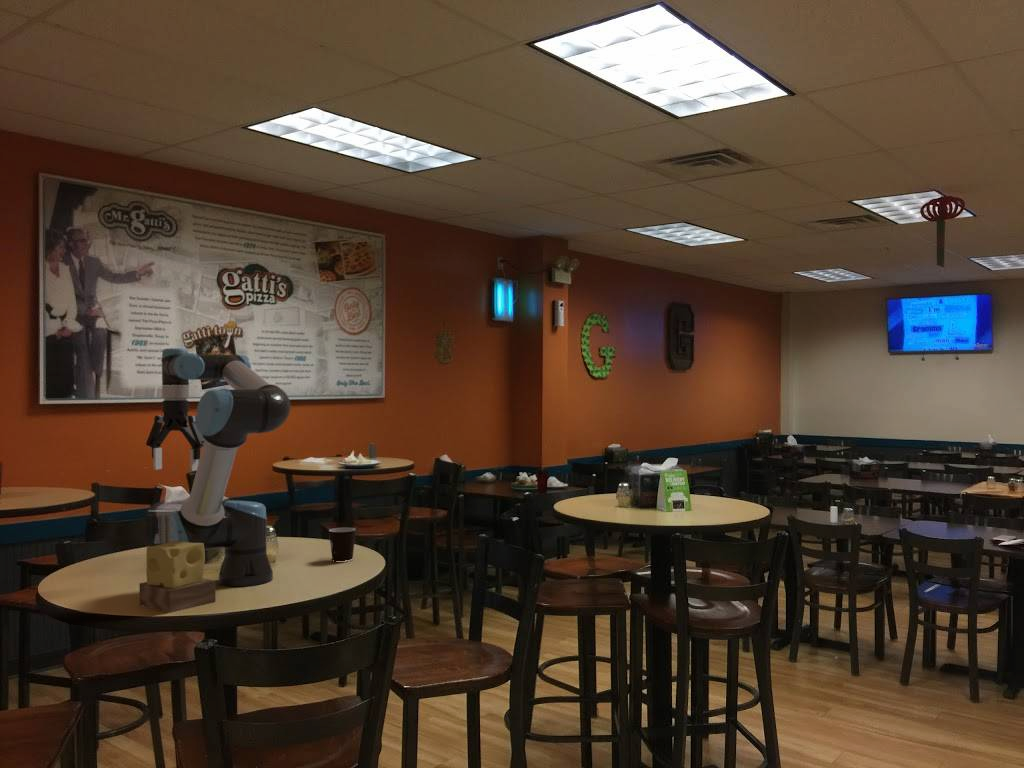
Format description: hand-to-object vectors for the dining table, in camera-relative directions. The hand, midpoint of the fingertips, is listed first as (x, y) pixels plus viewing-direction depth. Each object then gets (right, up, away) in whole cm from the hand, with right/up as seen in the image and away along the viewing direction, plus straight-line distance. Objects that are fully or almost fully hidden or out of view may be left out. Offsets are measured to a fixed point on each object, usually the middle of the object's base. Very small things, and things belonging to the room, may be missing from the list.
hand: (175, 470), depth 253 cm
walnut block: (+14, -32, -34) cm, 49 cm away
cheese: (+14, -26, -35) cm, 45 cm away
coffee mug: (+46, -32, +21) cm, 60 cm away
